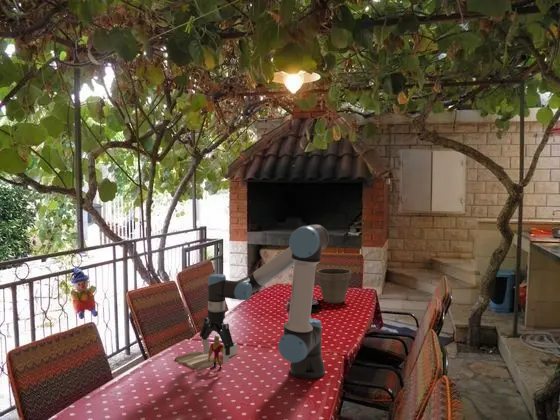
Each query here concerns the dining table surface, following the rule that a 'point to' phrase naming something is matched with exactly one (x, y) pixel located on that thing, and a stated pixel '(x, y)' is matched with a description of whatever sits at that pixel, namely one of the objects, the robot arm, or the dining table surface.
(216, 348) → the action figure
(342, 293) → the plant pot
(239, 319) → the dining table surface
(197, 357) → the board
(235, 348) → the die
